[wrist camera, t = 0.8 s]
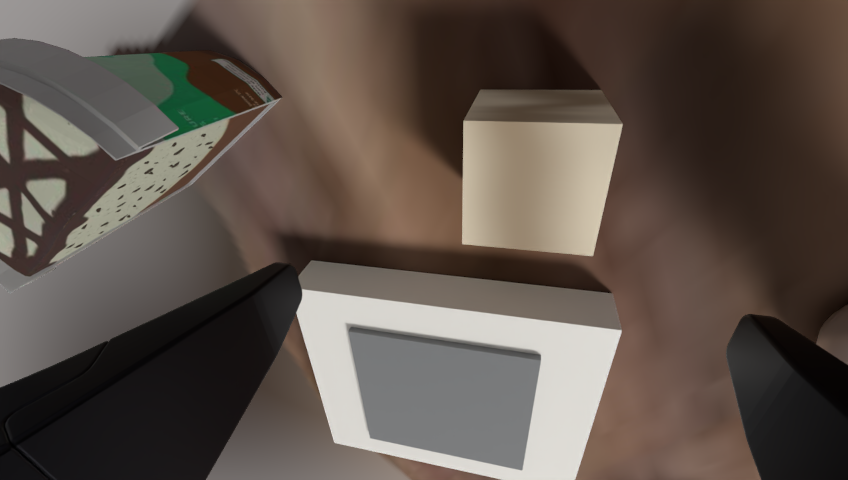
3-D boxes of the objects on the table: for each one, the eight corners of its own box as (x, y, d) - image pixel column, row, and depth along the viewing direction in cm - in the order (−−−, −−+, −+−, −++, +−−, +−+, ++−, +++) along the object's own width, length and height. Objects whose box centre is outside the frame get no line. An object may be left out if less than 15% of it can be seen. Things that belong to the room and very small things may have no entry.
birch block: (601, 89, 16) (622, 124, 12) (580, 198, 19) (592, 256, 15) (480, 89, 17) (463, 120, 13) (477, 191, 20) (462, 243, 16)
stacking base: (612, 293, 21) (623, 336, 19) (567, 455, 30) (570, 500, 27) (311, 260, 25) (285, 291, 23) (348, 411, 34) (332, 447, 31)
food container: (204, -45, 17) (-100, -73, 9) (301, 79, 19) (124, 149, 11) (98, 113, 23) (-144, 183, 15) (180, 195, 25) (6, 297, 17)
